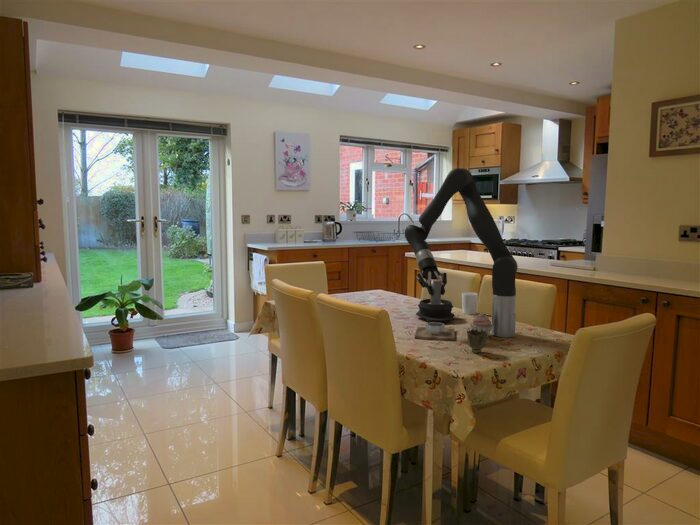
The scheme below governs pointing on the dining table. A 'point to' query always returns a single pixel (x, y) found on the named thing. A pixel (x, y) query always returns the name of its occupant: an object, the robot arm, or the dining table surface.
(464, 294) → the white cup
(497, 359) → the dining table surface
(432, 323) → the grey octagonal sleeve
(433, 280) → the grey cylinder tan top
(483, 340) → the cup
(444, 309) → the casserole
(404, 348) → the dining table surface
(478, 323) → the cupcake
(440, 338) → the board
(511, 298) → the robot arm
